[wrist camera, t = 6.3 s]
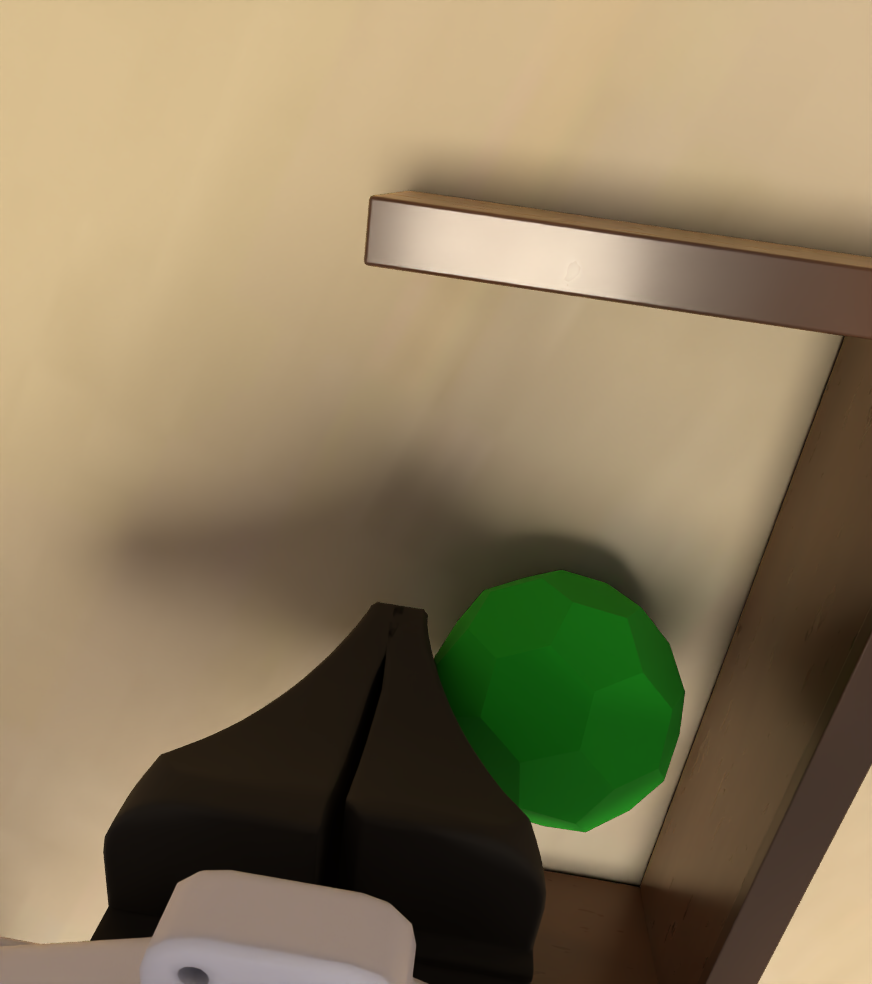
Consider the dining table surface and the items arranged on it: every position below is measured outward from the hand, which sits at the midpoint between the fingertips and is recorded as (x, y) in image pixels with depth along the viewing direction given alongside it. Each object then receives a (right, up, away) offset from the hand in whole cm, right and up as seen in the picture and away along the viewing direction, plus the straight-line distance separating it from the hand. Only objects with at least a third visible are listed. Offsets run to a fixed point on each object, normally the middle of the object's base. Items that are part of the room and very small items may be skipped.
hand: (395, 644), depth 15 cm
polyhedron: (+3, 0, +2) cm, 4 cm away
